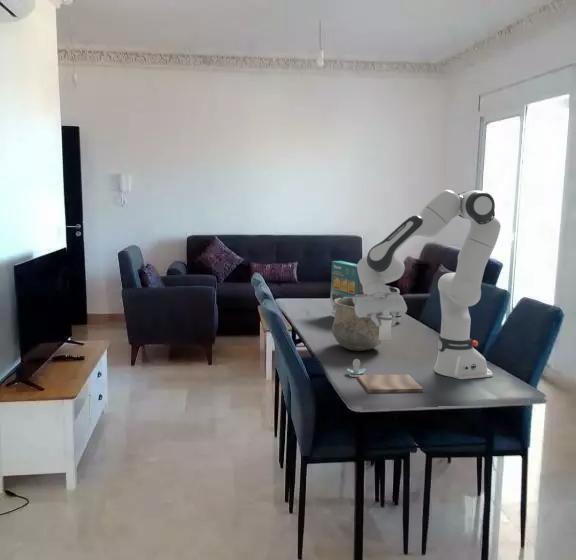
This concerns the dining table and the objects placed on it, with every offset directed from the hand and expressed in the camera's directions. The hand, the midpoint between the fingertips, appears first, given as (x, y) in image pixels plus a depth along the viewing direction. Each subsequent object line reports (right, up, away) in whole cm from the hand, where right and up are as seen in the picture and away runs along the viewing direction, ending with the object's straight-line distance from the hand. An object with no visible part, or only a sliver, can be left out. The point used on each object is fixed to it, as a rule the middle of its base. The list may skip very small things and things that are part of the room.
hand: (386, 325), depth 231 cm
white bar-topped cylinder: (0, -5, +2) cm, 6 cm away
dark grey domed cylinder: (+18, -6, +98) cm, 100 cm away
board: (+1, -22, -2) cm, 22 cm away
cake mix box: (-5, -4, +101) cm, 101 cm away
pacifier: (-10, -20, +8) cm, 24 cm away
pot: (-5, -14, +45) cm, 48 cm away
